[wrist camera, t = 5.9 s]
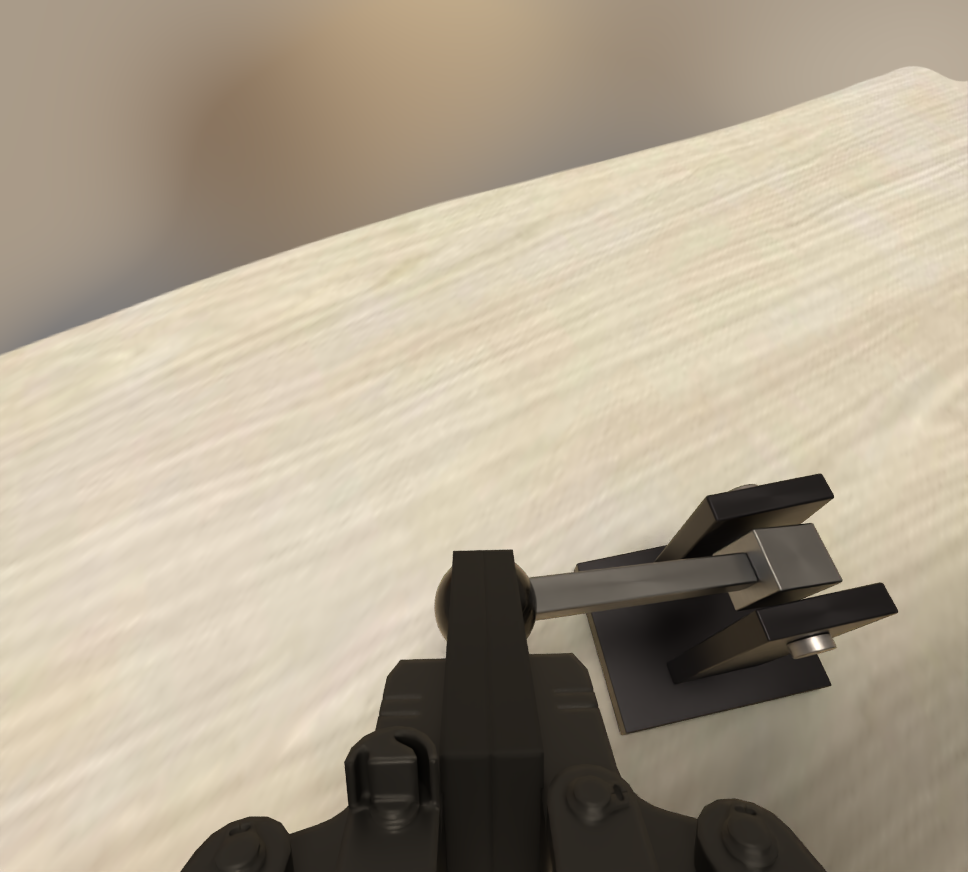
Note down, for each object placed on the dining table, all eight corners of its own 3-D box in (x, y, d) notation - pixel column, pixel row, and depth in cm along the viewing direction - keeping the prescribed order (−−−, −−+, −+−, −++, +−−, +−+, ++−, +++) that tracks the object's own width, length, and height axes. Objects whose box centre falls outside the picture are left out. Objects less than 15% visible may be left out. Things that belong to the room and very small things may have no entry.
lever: (433, 677, 17) (458, 654, 14) (418, 578, 18) (438, 542, 16) (794, 615, 22) (857, 590, 19) (759, 540, 23) (814, 508, 21)
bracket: (620, 735, 27) (701, 715, 17) (573, 570, 31) (615, 471, 21) (819, 688, 28) (1011, 642, 18) (748, 534, 32) (872, 422, 21)
